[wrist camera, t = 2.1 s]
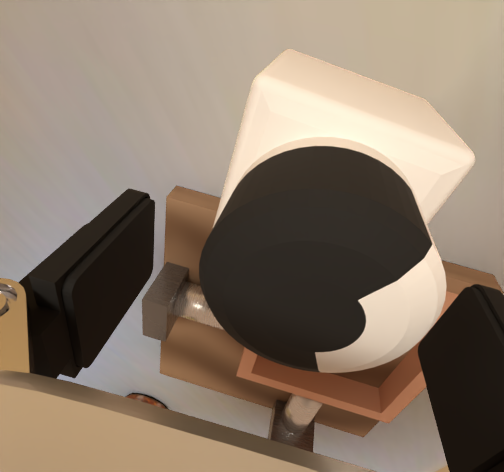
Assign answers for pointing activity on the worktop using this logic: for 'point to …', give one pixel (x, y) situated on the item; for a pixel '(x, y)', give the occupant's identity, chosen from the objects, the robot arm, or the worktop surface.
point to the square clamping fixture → (256, 367)
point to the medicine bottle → (331, 219)
